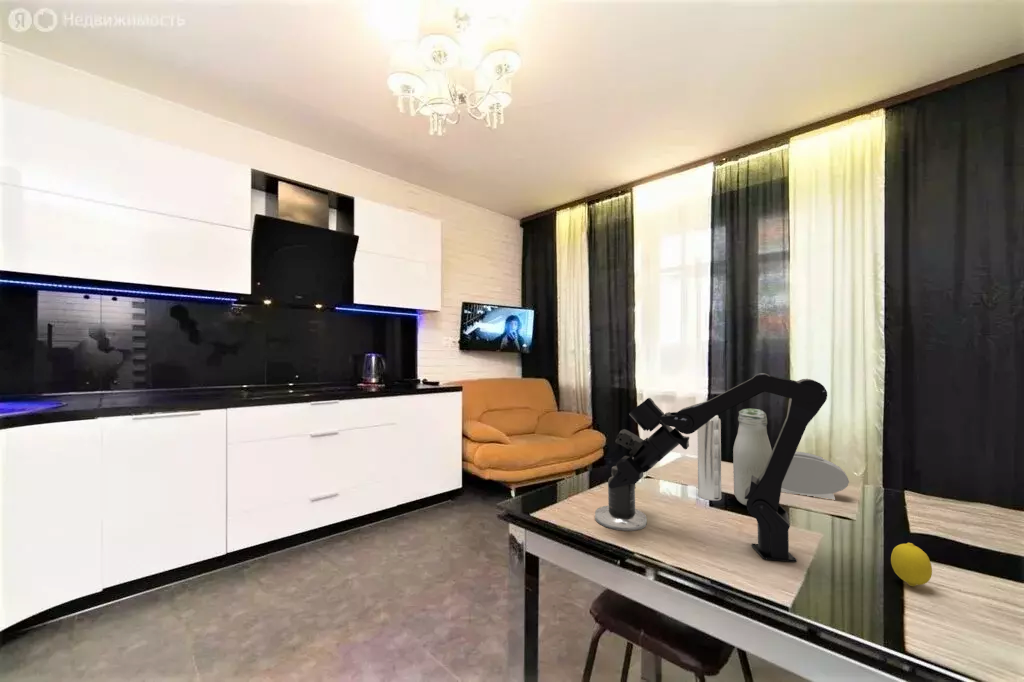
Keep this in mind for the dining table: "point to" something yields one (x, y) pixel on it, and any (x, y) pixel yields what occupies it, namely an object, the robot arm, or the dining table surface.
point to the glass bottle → (750, 450)
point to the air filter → (709, 460)
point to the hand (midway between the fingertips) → (615, 482)
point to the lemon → (911, 564)
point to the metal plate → (620, 520)
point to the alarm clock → (813, 477)
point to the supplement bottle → (621, 499)
